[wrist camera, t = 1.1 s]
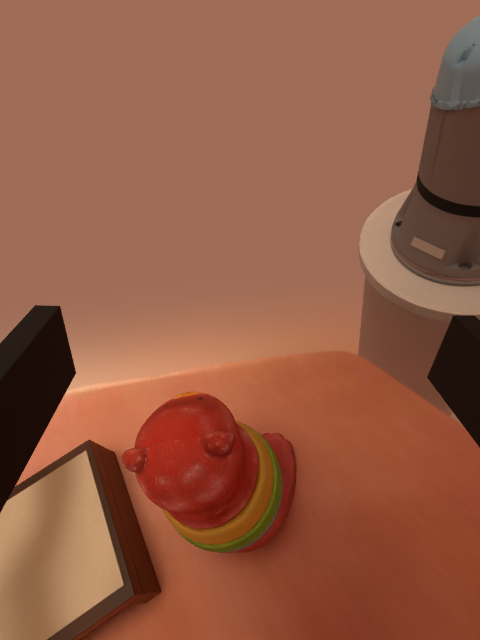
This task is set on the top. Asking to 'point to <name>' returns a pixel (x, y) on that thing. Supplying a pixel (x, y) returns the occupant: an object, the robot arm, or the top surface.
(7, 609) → the dollhouse bed
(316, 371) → the top surface
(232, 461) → the stacking bear
